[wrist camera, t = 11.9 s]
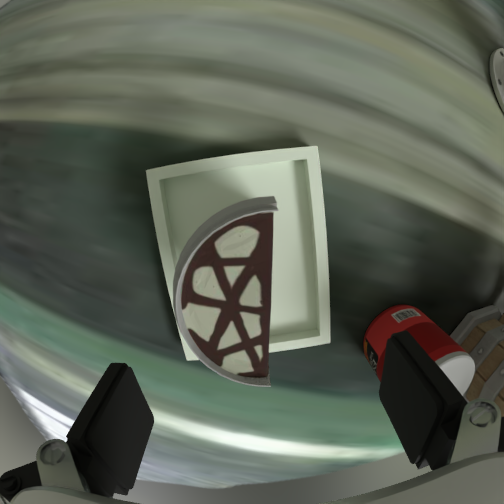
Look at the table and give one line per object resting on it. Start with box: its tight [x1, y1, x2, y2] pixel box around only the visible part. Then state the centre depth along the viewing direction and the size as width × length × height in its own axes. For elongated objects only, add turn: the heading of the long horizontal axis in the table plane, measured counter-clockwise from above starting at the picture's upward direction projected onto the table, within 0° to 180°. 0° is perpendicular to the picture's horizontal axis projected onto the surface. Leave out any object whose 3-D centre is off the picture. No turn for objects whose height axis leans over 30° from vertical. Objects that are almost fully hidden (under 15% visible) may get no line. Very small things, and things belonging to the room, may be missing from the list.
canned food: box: [363, 305, 475, 396], centre depth 24 cm, size 8×8×11 cm
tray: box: [146, 146, 330, 361], centre depth 25 cm, size 14×18×2 cm
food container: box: [173, 196, 278, 387], centre depth 21 cm, size 12×6×10 cm, turn 179°
